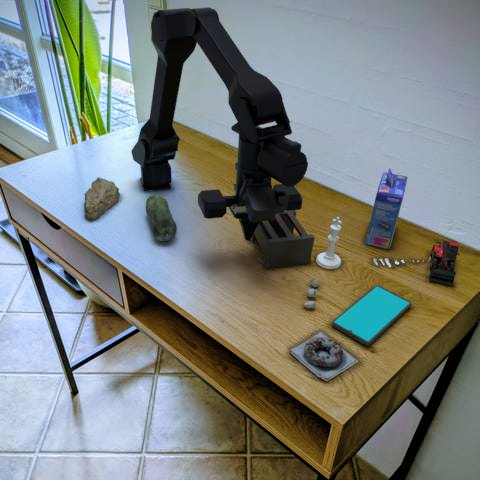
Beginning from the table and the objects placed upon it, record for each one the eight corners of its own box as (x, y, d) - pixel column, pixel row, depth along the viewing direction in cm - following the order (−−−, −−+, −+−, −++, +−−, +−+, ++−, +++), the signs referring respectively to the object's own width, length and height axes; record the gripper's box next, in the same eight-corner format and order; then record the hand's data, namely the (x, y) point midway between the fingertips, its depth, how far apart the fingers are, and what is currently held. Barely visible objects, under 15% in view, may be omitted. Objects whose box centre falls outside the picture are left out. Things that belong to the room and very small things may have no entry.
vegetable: (140, 194, 105) (163, 187, 105) (147, 214, 108) (168, 208, 109) (151, 229, 95) (176, 221, 96) (158, 250, 99) (182, 243, 99)
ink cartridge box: (369, 222, 111) (385, 160, 101) (394, 227, 110) (413, 165, 100) (363, 244, 104) (379, 180, 94) (389, 250, 103) (409, 185, 93)
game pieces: (319, 283, 92) (309, 284, 93) (318, 274, 91) (307, 275, 91) (315, 312, 87) (304, 312, 87) (314, 303, 85) (303, 303, 86)
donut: (287, 350, 78) (289, 341, 77) (321, 332, 82) (323, 323, 81) (324, 383, 74) (327, 373, 72) (358, 362, 78) (362, 352, 76)
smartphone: (412, 302, 88) (368, 343, 80) (411, 306, 89) (367, 346, 80) (376, 284, 92) (331, 321, 83) (375, 287, 92) (330, 325, 84)
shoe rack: (267, 268, 95) (270, 242, 91) (250, 238, 103) (252, 213, 99) (310, 263, 97) (314, 237, 93) (290, 234, 105) (294, 209, 101)
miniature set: (371, 260, 100) (373, 253, 99) (424, 257, 102) (427, 251, 101) (376, 269, 98) (379, 262, 96) (431, 266, 100) (434, 260, 99)
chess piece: (334, 272, 96) (344, 227, 89) (311, 263, 97) (320, 218, 91) (344, 260, 99) (355, 216, 92) (322, 252, 101) (331, 208, 94)
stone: (62, 204, 103) (72, 225, 106) (92, 200, 101) (102, 221, 104) (89, 178, 113) (98, 197, 116) (117, 173, 111) (125, 193, 114)
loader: (452, 286, 94) (461, 266, 91) (427, 281, 95) (435, 261, 92) (452, 254, 103) (460, 234, 100) (429, 249, 104) (436, 230, 101)
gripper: (213, 189, 78) (211, 269, 88) (320, 180, 83) (306, 256, 93) (197, 159, 86) (197, 236, 96) (296, 152, 91) (286, 226, 101)
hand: (247, 239), depth 96 cm, fingers closed
